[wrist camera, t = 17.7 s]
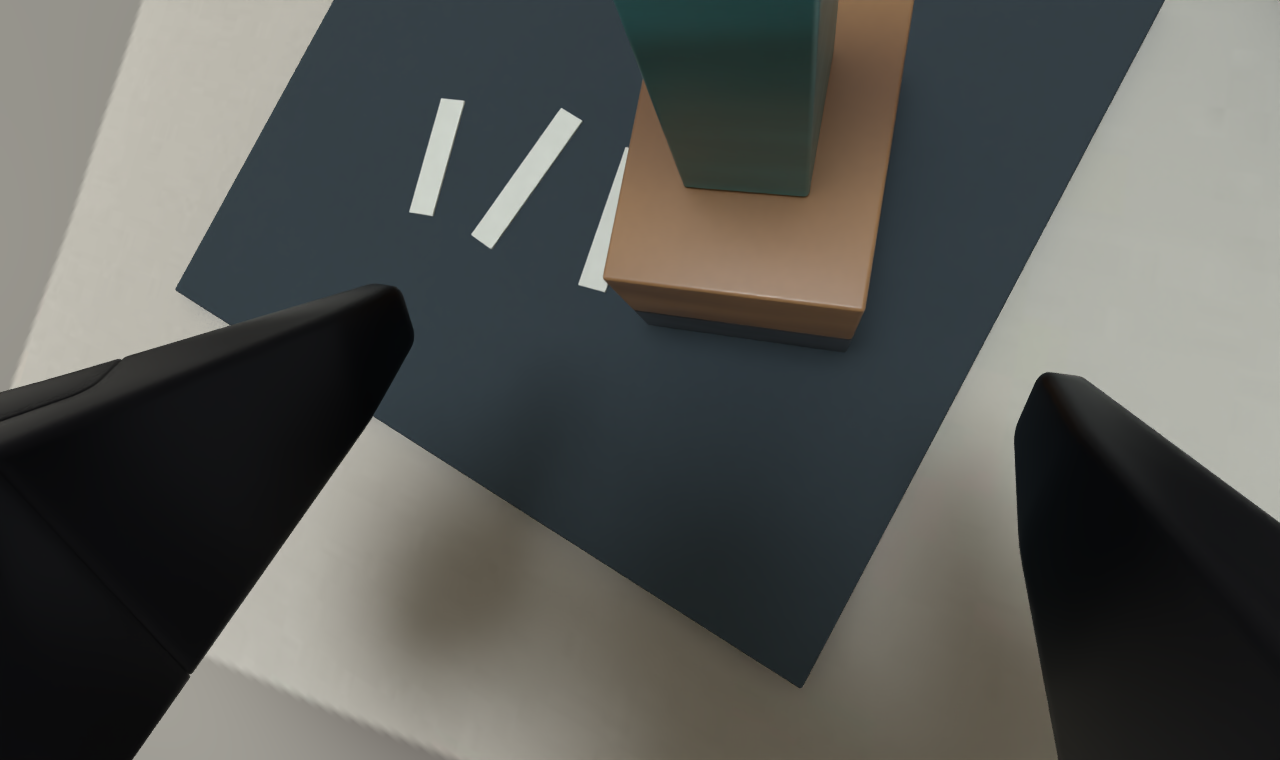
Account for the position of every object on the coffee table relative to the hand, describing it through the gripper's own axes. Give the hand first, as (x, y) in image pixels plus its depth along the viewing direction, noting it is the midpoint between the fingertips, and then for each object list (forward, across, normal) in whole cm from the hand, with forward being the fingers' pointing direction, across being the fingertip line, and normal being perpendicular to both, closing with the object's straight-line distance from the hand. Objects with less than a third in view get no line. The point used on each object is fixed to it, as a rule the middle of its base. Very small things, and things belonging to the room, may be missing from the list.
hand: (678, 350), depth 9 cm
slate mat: (+9, +5, +1) cm, 11 cm away
